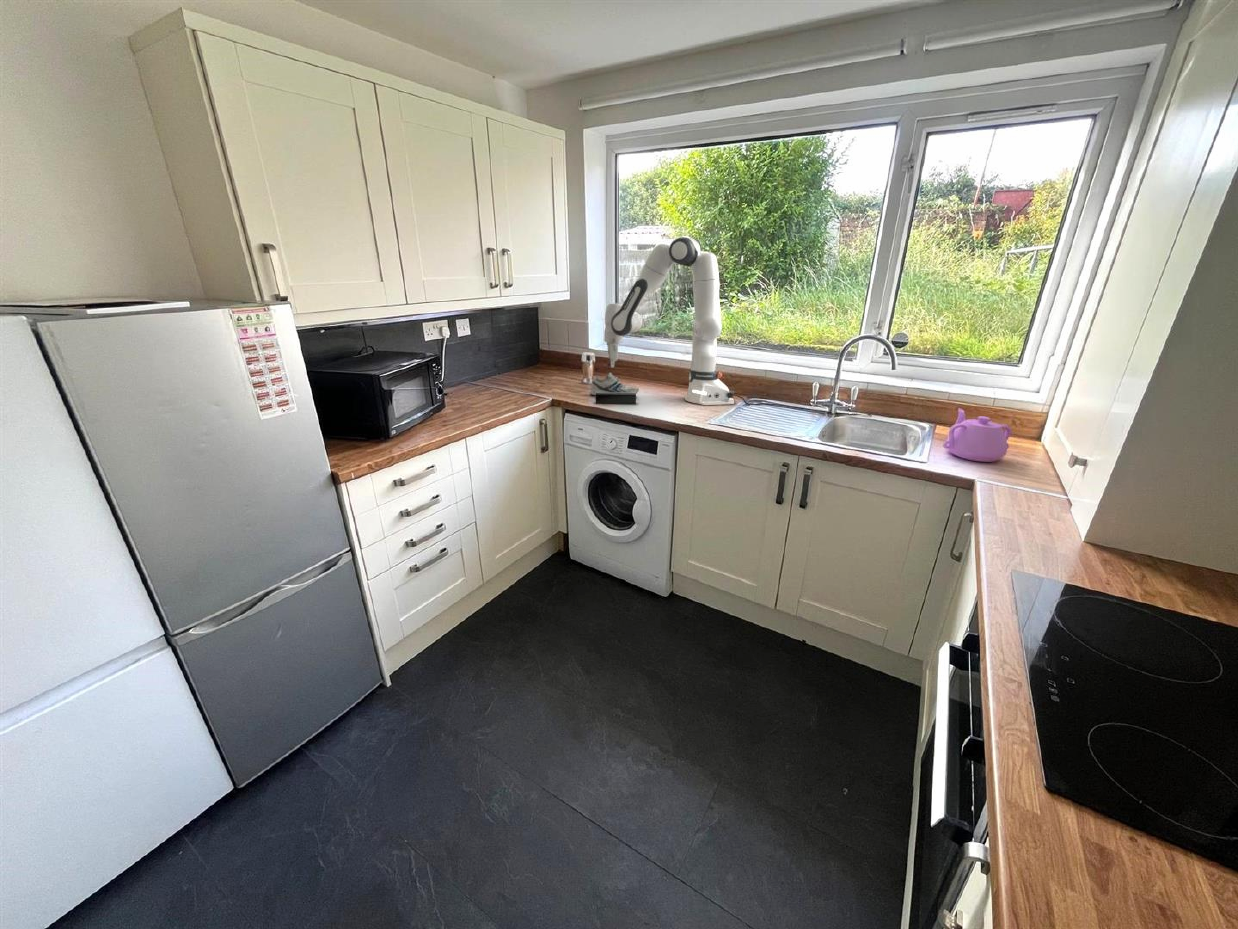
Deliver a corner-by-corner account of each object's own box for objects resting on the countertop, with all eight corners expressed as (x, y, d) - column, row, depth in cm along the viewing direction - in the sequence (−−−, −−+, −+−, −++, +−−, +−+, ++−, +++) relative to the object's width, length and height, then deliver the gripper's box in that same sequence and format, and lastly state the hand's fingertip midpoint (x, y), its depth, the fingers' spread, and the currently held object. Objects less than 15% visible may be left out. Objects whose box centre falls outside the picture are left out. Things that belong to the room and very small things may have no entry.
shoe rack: (635, 403, 223) (636, 392, 221) (635, 404, 222) (636, 392, 220) (595, 402, 222) (595, 391, 220) (595, 403, 221) (595, 392, 219)
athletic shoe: (638, 398, 230) (639, 372, 228) (588, 398, 230) (589, 371, 228) (638, 398, 240) (638, 373, 238) (590, 398, 240) (590, 372, 238)
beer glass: (597, 382, 263) (597, 353, 257) (591, 384, 257) (591, 355, 251) (585, 380, 265) (585, 352, 260) (579, 382, 259) (579, 353, 254)
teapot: (977, 444, 183) (988, 407, 178) (1023, 465, 163) (1037, 425, 158) (918, 442, 182) (928, 406, 177) (957, 464, 162) (969, 423, 157)
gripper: (621, 341, 229) (620, 371, 234) (618, 335, 248) (617, 363, 253) (607, 340, 229) (606, 370, 234) (606, 335, 248) (605, 363, 253)
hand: (612, 366), depth 244 cm, fingers closed
